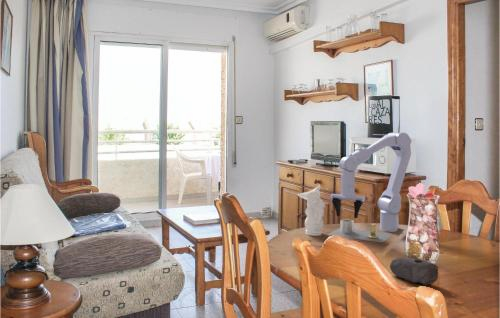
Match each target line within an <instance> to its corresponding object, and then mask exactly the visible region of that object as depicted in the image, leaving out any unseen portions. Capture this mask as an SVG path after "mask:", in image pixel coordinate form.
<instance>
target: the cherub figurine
mask: <svg viewBox="0 0 500 318" xmlns="http://www.w3.org/2000/svg"><path fill="white" fill-rule="evenodd" d="M320 190H321V184H320V183H319V184H318V186H317V187H315V188H313V189H310V190H308V191H306V192H305V191H304V192H301V193H297V197H299V198H301V199H304V200H306V208H305V212H304V213H305V216H306V218H305V220H304V227H305V234H306V235H308V236H314V237H315V236H322V234H323V229H324V220H323V217H324V215H325V208H326V203H325V201H324V200H323V199H322V198H321V192H320Z"/></svg>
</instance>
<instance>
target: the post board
mask: <svg viewBox="0 0 500 318" xmlns="http://www.w3.org/2000/svg"><path fill="white" fill-rule="evenodd" d="M369 228H370V230H363V229H357V228H356V229H355V228H354V232H353V233H351V234H346V233H341V232H340V227H338V228H337V229H335V230H333V231H331V232H330V233H328V234H327V236H331V235H340V236H343V237H342V238H346V239H352V240H353V239H354V240H362V241H369V242H376V243H384V242H386V240H387V239H389V238H390V237H391V236H392V235H393V233H390V232H389V233H387V232H381V231H377V225H376V224H370V226H369Z"/></svg>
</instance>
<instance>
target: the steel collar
mask: <svg viewBox="0 0 500 318" xmlns="http://www.w3.org/2000/svg"><path fill="white" fill-rule="evenodd" d="M339 221H340V222H339V223H340V224H339V226H340V227H339V228H340V232H341V233H346V234H351V233H353V232H354V229H355V228H354V227H355V225H354V224H355V221H354V220H353V219H348V218H345V219H344V218H343V219H340V220H339Z"/></svg>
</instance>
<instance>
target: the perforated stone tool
mask: <svg viewBox="0 0 500 318" xmlns="http://www.w3.org/2000/svg"><path fill="white" fill-rule="evenodd" d="M389 269H390V271H391V273H393V275H394V276H396V277H397V278H400V279H401V278H402V279H404V281H407V282H411V283H414V284H417V283H419V284H422V285H424V286H428V285H433V284H434V283H435V282H437V280H438V279H439V278H438V277H439V266H437V265H436V264H435V263H434V262H433V263H432V262H430V261H427V260H422V259H419V258H418V259H417V258H412V257H397V258H396V257H395V259H392V260H391V263H390V264H389Z"/></svg>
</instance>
